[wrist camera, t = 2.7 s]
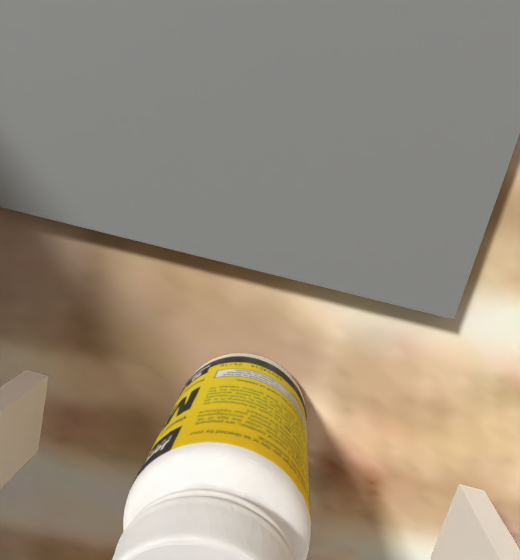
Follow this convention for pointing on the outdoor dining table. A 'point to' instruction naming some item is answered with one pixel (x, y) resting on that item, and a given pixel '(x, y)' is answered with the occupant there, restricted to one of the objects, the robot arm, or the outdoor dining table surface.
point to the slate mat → (269, 132)
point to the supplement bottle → (225, 470)
